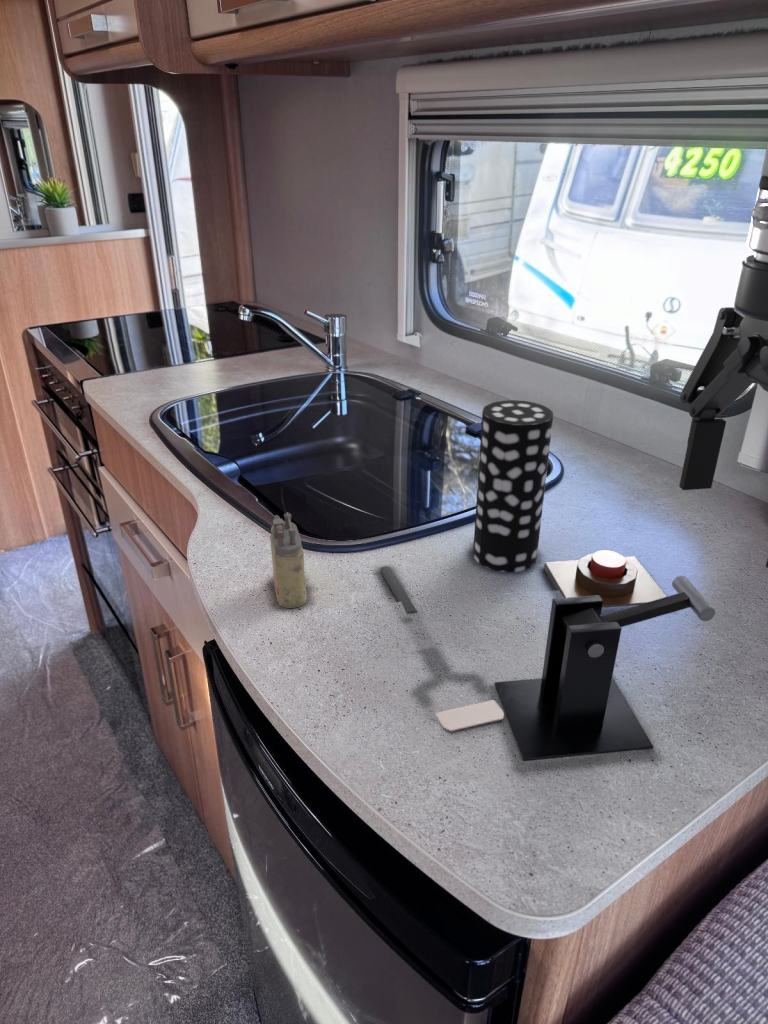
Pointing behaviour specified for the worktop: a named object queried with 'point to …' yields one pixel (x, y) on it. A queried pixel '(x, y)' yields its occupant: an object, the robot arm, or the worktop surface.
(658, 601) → the lever
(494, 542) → the white-spotted black cylinder
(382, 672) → the worktop surface
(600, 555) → the button
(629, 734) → the bracket
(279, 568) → the lighter
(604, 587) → the button block
